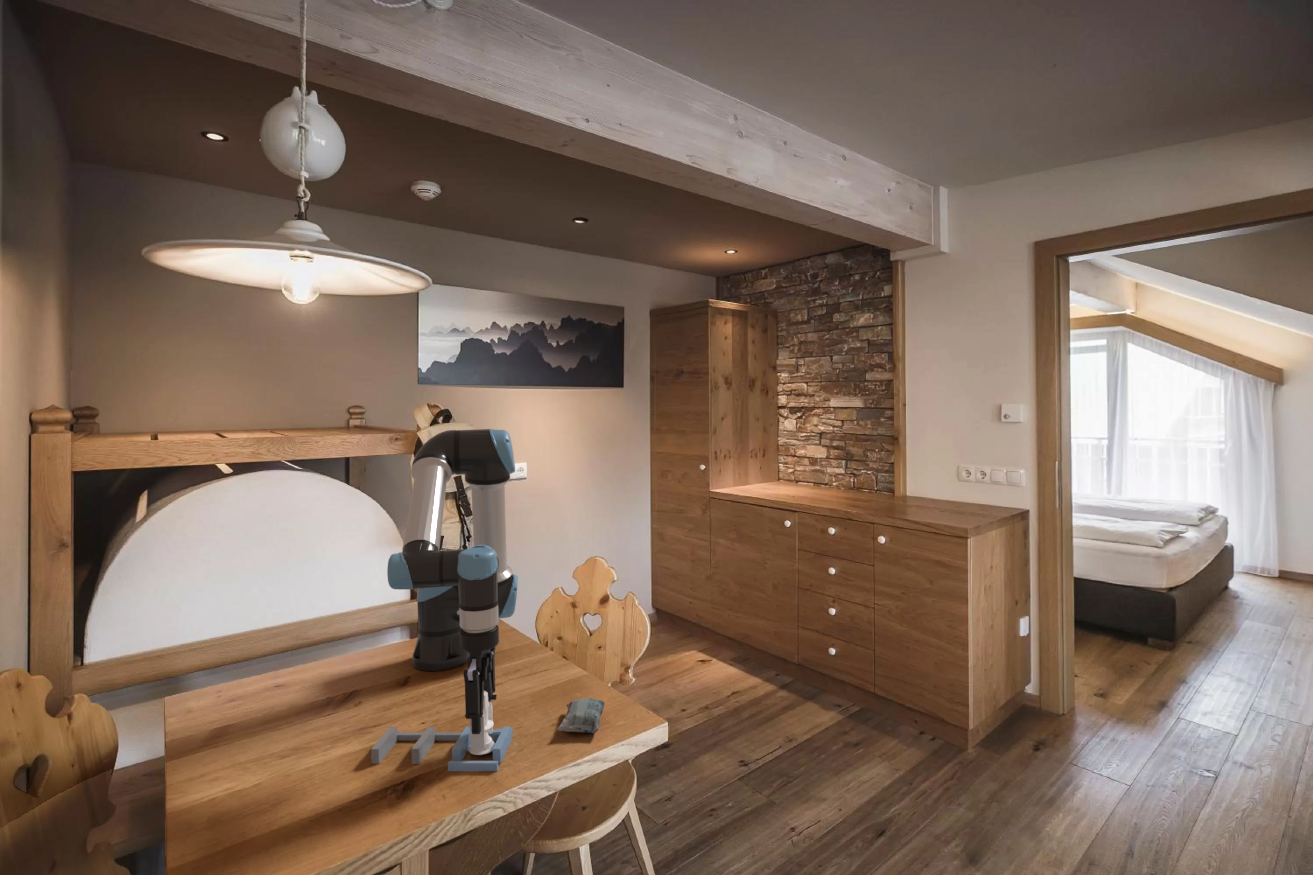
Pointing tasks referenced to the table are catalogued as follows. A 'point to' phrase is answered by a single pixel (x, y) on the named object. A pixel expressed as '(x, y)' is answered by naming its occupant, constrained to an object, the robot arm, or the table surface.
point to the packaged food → (582, 716)
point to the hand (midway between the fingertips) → (482, 739)
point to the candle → (488, 725)
